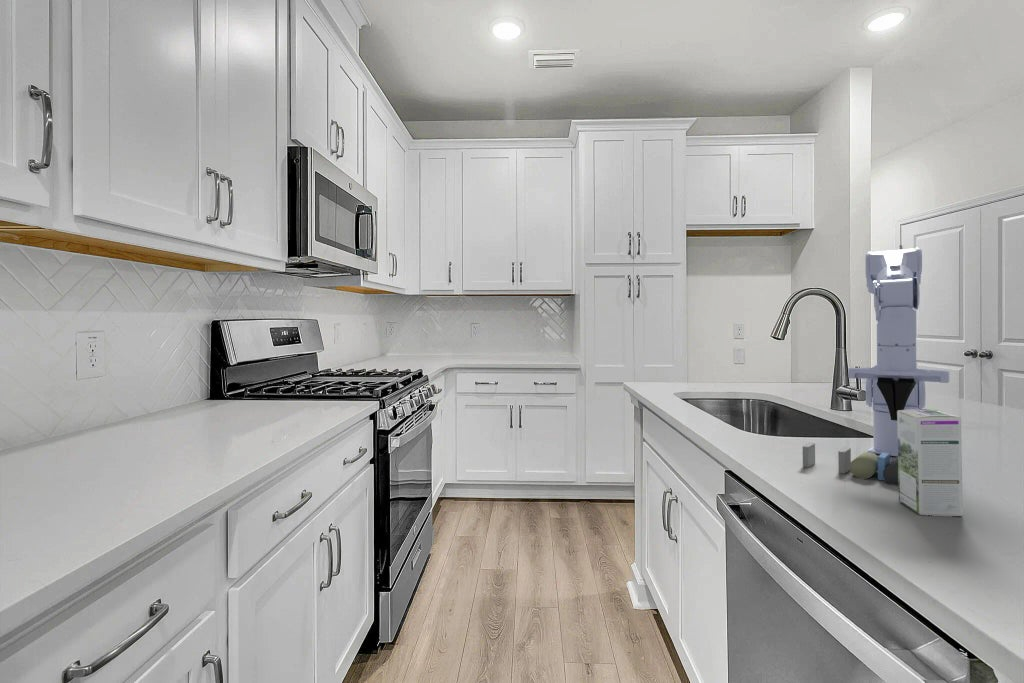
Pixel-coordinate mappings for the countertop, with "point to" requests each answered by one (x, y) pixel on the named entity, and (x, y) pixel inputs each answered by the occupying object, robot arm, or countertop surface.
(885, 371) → the robot arm
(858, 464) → the olive yellow cylinder
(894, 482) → the dark grey cylinder
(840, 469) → the rectangular blocks
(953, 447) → the syrup box
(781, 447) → the countertop surface
